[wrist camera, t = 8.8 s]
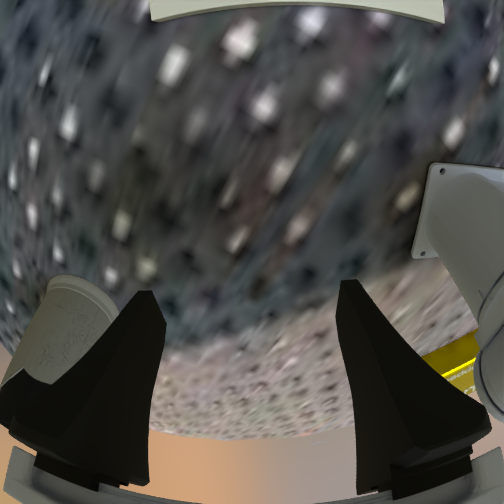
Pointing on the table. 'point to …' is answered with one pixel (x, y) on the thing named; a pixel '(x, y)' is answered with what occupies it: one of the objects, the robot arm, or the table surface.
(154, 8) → the socket board
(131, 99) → the table surface
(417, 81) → the table surface
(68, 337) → the glass holder
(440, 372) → the element tile
